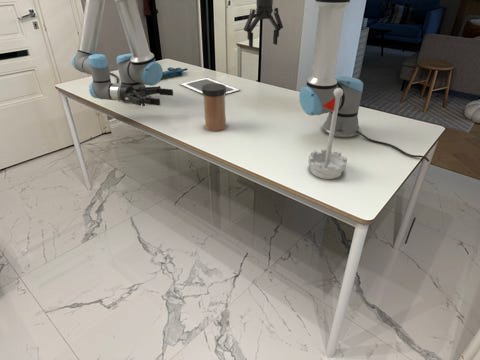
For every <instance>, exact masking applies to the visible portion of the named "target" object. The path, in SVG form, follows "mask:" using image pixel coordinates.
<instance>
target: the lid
mask: <svg viewBox="0 0 480 360" xmlns="http://www.w3.org/2000/svg"><path fill="white" fill-rule="evenodd" d="M223 84H224V83H223ZM223 84H217V83H213V84H206V85H204V86H203V87H202V93H203V94H204V95H206V96H221V95H224V94H225V93H226V86H225V85H223ZM203 94H202V95H203ZM204 95H203V96H204Z"/></svg>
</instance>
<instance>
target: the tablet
mask: <svg viewBox="0 0 480 360" xmlns="http://www.w3.org/2000/svg"><path fill="white" fill-rule="evenodd" d="M213 83H217V84H223V85H225V86H226V93H225V96H226V95H229V94H232V93H236V92H240V91H241V90H240V89H238V88H237V87H233V86H230V85H228V84H226V83H222V82H220V81H217V80H214V79H212V78H210V77H204V78H200V79H195V80H191V81H187V82H183V83H180V84H179V85H180V86H183V87H185V88H187V89H189V90H192V91H194V92H196V93H198V94H201V95H203V96H204V94H203V93H202V87H203V86H204V85H206V84H213Z"/></svg>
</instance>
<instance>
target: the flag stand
mask: <svg viewBox="0 0 480 360" xmlns="http://www.w3.org/2000/svg"><path fill="white" fill-rule="evenodd" d="M342 95H343V90H342V89H341V88H336V89H335V90H334V96H335V98H334V99H332V100H331V101H329V102H328V103H326V104H325V105H323V107H326V108H328V109H330V110H332V111H333V114H332V121H331V127H330V134H328V141H327V147H326V148H321V149H320V151H317V150H315V149H314V150H312V151H311V152H310V155H308V162H307V163H308V165H309V166H310V167H309V169H310V173H311V174H313V176H315V177H318V178H321V179H325V180H332V179H337V178H339V177H341V176H342V174H343V171H344V170H345V169H346V168H347V164H348V158H347V156H346V155H342V152H340V151H338V150H334V151H332V149H333V143H334V132H335V126H336V120H337V113H338V107H339V101H340V97H341V96H342Z"/></svg>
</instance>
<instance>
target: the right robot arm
mask: <svg viewBox="0 0 480 360" xmlns="http://www.w3.org/2000/svg"><path fill="white" fill-rule="evenodd" d="M273 3H274V0H256V3H255V5H256V9H254V8H250V9H249V15H248V18H247V20H246V23H245V25H244V27H243V31H245V32H247V37H246V38H247V40H248V47H249V48H254V32H253V31H254V29H255V28H256V26H257V25H258V23H259V21H261V20H268V21H269V22H270V23H271V25H272V26H273V28H274V29H273V35H272V36H273V38H272V44H273V45H275V46H277V45H278V38H279V37H280V31H281V29H283V28H284V25H283V23H282V19H281V17H280V14H279V8H278V7H275V6H274V7H273ZM350 3H351V0H315V4H316V5H317V6H318V14H317V21H316V22H317V23H316V31H315V41H314V49H313V59H312V69H311V75H310V76H309V77H308V78H306V84H305V86H303V87H302V88H301V89H300V91H299V94H298V99H299V103H300V106H301V108H302V110H303V112H304V113H305V114H307V115H308V116H321V115H324V114H328V115H327V117H326V120H325V121H324V123H323V126H322V130H323V132H324V133H325V134H326V135H329V134H330V127H331V121H332V114H333V111H332V110H330V109H328V108H326V107H323V105H325V104H326V103H328V102H329V101H331V100H332V99H334V98H335V96H334V90H335V89H336V88H341V89H342V90H343V95H342V96H341V97H340V101H339V107H338V113H337V120H336V126H335V132H334V137H335V138H339V139H341V138H342V139H349V138H354V137H356V136H357V135H360V136H362V137H363V138H364V139H366V140H368V141H369V142H372V143H376V144H381V145H386V146H389V147H392V148H394V149H396V150H397V151H399V152H400V153H402V154H404V155H407V156H408V157H411V158H422V159H424V160H426V162H430V159H429V158H428V157H427V156H425V155H420V154H419V155H415V154H411V153H408V152H405V151H404V150H402V149H401V148H400V147H398V146H396V145H394V144H391V143H388V142H384V141H379V140H375V139H372V138H369V137H368V136H366V135H365V134H364V133H361V131H360V125H359V118H358V117H359V116H358V114H359V111H360V110H359V109H360V105H361V101H362V96H363V92H364V91H363V89H364V82H363V81H362V80H361V79H359V78H356V77H353V76H346V75H336V76H335V72H336V67H337V59H338V53H339V46H340V41H341V33H342V28H343V27H342V26H343V19H344V12H345V8H346V7H347V6H348V5H349V4H350ZM272 14H273V15H272ZM416 219H417V217H414V218H413V219H412V222H411V225H410V227H409V230H408V233H407V236H406V239H405V240H404V244H405V245H407V243H408V241H409V238H410V234H411V232H412V229H413V227H414V224H415V222H416Z"/></svg>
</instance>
